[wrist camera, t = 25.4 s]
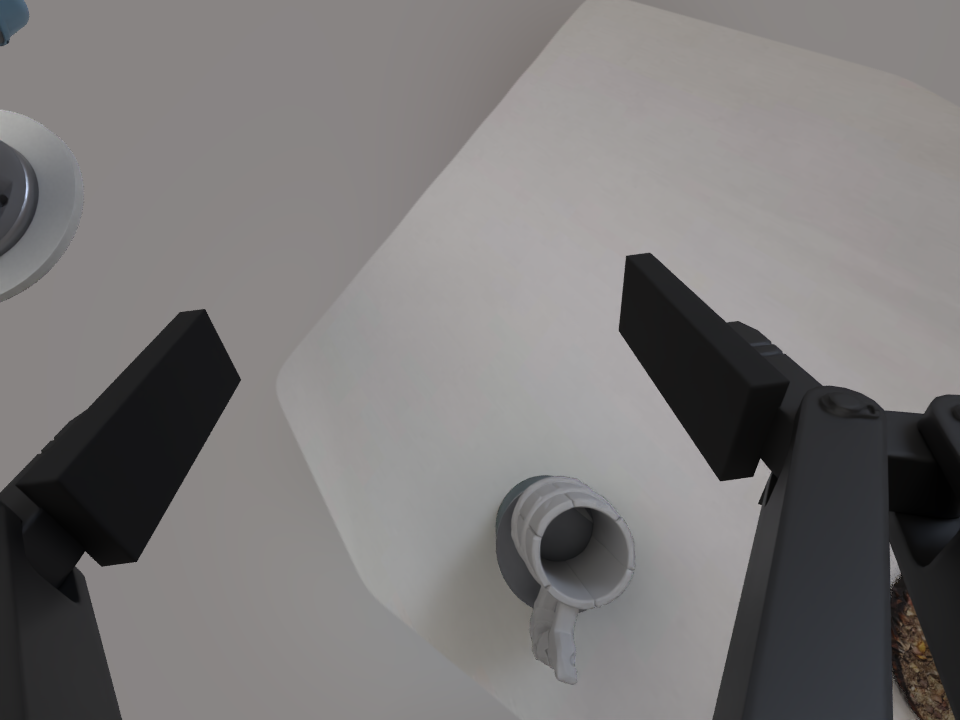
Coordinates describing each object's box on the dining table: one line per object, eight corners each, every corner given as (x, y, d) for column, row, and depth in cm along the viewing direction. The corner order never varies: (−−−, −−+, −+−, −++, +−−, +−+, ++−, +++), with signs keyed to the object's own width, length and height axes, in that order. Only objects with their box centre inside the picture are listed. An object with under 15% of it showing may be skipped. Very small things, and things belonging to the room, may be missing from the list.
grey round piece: (472, 515, 44) (470, 530, 36) (557, 452, 45) (571, 454, 37) (536, 608, 42) (547, 643, 35) (622, 541, 43) (650, 561, 36)
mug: (612, 488, 37) (674, 512, 25) (579, 638, 35) (630, 741, 23) (523, 463, 37) (543, 474, 25) (485, 610, 35) (488, 696, 24)
